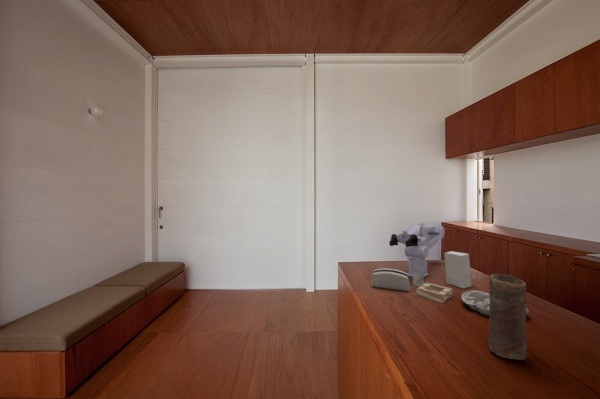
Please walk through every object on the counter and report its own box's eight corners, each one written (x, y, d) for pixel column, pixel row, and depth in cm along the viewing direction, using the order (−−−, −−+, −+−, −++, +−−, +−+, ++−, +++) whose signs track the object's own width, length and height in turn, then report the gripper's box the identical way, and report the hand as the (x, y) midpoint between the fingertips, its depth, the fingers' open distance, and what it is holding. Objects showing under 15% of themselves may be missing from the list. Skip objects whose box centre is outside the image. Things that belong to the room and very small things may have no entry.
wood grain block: (421, 287, 110) (421, 272, 110) (412, 284, 113) (412, 270, 113) (425, 284, 113) (425, 270, 113) (417, 282, 116) (416, 269, 116)
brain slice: (447, 303, 94) (447, 295, 94) (478, 295, 100) (477, 288, 100) (505, 328, 75) (505, 319, 75) (538, 317, 81) (538, 308, 81)
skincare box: (471, 286, 109) (470, 253, 109) (463, 289, 106) (462, 255, 106) (452, 281, 116) (452, 250, 116) (444, 283, 114) (444, 251, 114)
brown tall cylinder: (518, 348, 65) (516, 274, 65) (534, 367, 58) (532, 283, 58) (484, 343, 68) (483, 272, 67) (496, 360, 61) (494, 281, 60)
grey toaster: (410, 287, 110) (410, 268, 107) (410, 294, 106) (410, 275, 103) (373, 282, 118) (371, 265, 114) (371, 289, 114) (369, 271, 110)
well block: (427, 289, 107) (427, 282, 107) (452, 296, 100) (452, 288, 100) (416, 295, 101) (416, 288, 101) (442, 303, 93) (442, 295, 93)
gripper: (394, 228, 127) (382, 235, 118) (424, 228, 116) (412, 236, 107) (397, 241, 127) (384, 249, 118) (426, 242, 116) (415, 251, 107)
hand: (398, 244), depth 112 cm, fingers open, 7 cm apart
